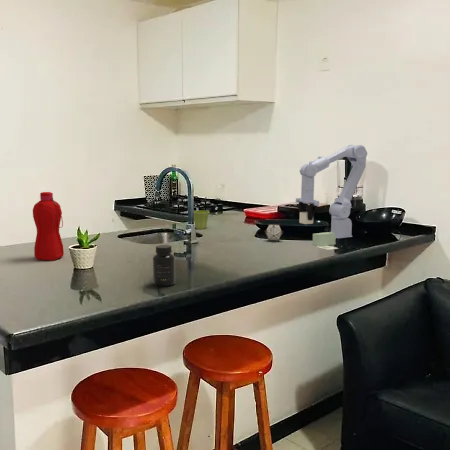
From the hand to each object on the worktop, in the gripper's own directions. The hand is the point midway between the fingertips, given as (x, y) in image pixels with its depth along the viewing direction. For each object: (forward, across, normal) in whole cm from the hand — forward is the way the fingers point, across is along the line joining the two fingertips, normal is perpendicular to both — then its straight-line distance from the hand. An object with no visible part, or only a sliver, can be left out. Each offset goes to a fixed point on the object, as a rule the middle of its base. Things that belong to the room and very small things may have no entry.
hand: (306, 219), depth 237 cm
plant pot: (+9, -48, -30) cm, 58 cm away
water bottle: (+9, -12, -113) cm, 114 cm away
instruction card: (+9, +22, -6) cm, 24 cm away
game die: (+9, -1, -18) cm, 20 cm away
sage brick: (+9, +17, -4) cm, 19 cm away
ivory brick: (+2, 0, 0) cm, 2 cm away
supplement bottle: (+9, +40, -90) cm, 99 cm away
